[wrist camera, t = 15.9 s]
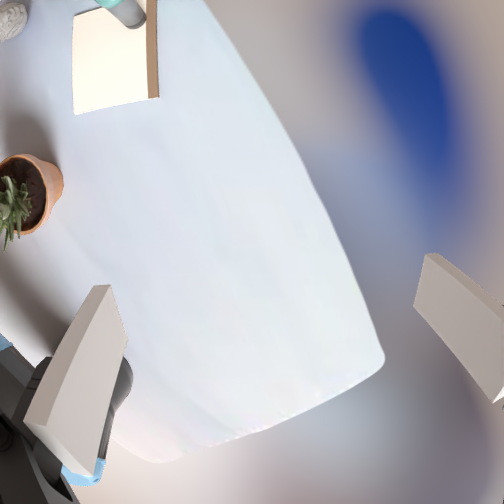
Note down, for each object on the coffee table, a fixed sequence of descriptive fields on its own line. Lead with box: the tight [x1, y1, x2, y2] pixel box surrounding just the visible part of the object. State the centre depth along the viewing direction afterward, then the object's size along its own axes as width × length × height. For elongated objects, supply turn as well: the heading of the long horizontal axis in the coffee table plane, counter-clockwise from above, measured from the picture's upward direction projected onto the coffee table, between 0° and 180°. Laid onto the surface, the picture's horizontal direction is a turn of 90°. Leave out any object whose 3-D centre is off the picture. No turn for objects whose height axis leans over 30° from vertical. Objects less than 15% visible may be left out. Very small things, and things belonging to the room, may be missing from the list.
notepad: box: [72, 0, 159, 115], centre depth 27 cm, size 11×14×1 cm
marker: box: [95, 0, 147, 29], centre depth 21 cm, size 3×3×10 cm
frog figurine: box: [0, 2, 28, 43], centre depth 19 cm, size 6×7×7 cm
